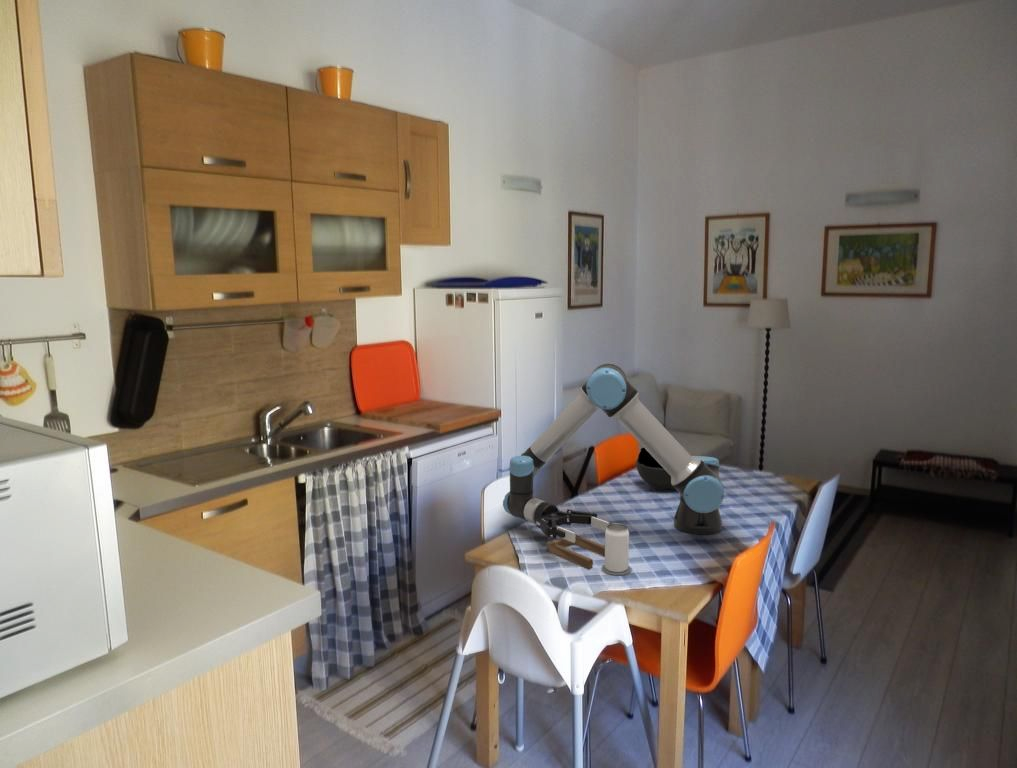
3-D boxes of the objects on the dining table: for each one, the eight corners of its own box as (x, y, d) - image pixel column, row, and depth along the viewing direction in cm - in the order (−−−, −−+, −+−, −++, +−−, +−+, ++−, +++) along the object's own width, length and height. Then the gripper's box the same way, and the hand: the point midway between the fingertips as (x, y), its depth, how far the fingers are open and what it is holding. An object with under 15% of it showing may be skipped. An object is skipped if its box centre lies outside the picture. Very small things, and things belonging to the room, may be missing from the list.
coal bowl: (669, 478, 290) (670, 432, 287) (699, 492, 272) (701, 443, 269) (625, 483, 283) (626, 436, 280) (653, 498, 264) (655, 447, 262)
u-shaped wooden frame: (574, 541, 222) (574, 533, 221) (617, 559, 208) (617, 550, 208) (546, 550, 215) (546, 542, 214) (588, 569, 201) (588, 560, 201)
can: (625, 563, 204) (626, 522, 202) (630, 572, 198) (631, 530, 196) (602, 563, 204) (603, 522, 202) (606, 573, 198) (607, 530, 196)
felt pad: (615, 561, 206) (615, 560, 206) (637, 570, 200) (637, 569, 200) (595, 568, 201) (595, 567, 201) (617, 578, 195) (617, 576, 195)
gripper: (571, 516, 232) (621, 534, 215) (510, 534, 216) (559, 555, 200) (571, 493, 231) (621, 510, 214) (510, 510, 215) (559, 529, 199)
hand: (591, 532), depth 207 cm, fingers open, 13 cm apart
